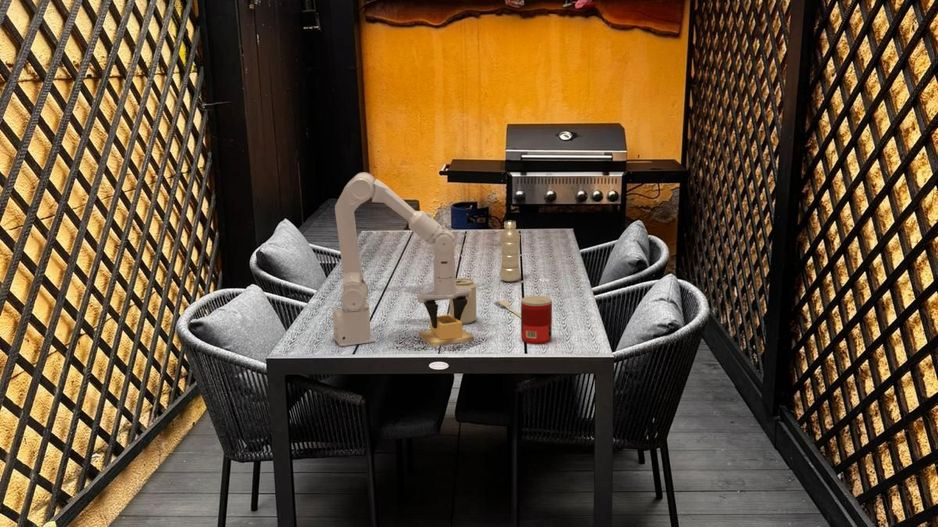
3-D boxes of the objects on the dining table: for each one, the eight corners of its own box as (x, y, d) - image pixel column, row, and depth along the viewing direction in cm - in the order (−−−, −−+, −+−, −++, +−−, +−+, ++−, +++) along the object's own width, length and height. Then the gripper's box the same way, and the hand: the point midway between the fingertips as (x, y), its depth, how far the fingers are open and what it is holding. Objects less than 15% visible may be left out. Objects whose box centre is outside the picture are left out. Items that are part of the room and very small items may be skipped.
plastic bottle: (498, 279, 294) (498, 220, 290) (518, 278, 295) (518, 219, 290) (501, 284, 288) (500, 223, 284) (521, 283, 289) (521, 223, 284)
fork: (523, 329, 249) (523, 320, 248) (490, 304, 266) (491, 295, 266) (531, 328, 250) (532, 319, 249) (499, 302, 268) (499, 294, 267)
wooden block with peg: (431, 346, 227) (430, 330, 226) (418, 335, 236) (418, 319, 235) (474, 340, 231) (473, 324, 230) (459, 330, 240) (459, 314, 239)
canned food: (556, 342, 229) (556, 301, 226) (527, 345, 226) (527, 304, 224) (545, 334, 236) (545, 294, 233) (517, 337, 234) (517, 297, 231)
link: (441, 339, 228) (441, 325, 228) (430, 331, 236) (430, 316, 235) (462, 337, 231) (462, 322, 230) (450, 328, 238) (450, 314, 237)
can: (461, 315, 254) (460, 275, 251) (481, 320, 249) (481, 279, 246) (444, 321, 248) (443, 280, 245) (464, 326, 244) (464, 284, 241)
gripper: (423, 282, 223) (425, 333, 227) (476, 276, 229) (476, 326, 232) (414, 276, 230) (416, 326, 233) (465, 270, 235) (466, 319, 238)
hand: (445, 325), depth 233 cm, fingers closed on link, 6 cm apart
